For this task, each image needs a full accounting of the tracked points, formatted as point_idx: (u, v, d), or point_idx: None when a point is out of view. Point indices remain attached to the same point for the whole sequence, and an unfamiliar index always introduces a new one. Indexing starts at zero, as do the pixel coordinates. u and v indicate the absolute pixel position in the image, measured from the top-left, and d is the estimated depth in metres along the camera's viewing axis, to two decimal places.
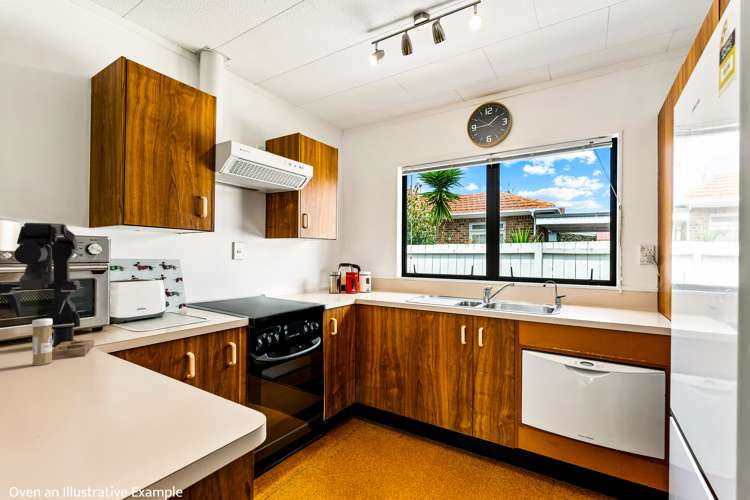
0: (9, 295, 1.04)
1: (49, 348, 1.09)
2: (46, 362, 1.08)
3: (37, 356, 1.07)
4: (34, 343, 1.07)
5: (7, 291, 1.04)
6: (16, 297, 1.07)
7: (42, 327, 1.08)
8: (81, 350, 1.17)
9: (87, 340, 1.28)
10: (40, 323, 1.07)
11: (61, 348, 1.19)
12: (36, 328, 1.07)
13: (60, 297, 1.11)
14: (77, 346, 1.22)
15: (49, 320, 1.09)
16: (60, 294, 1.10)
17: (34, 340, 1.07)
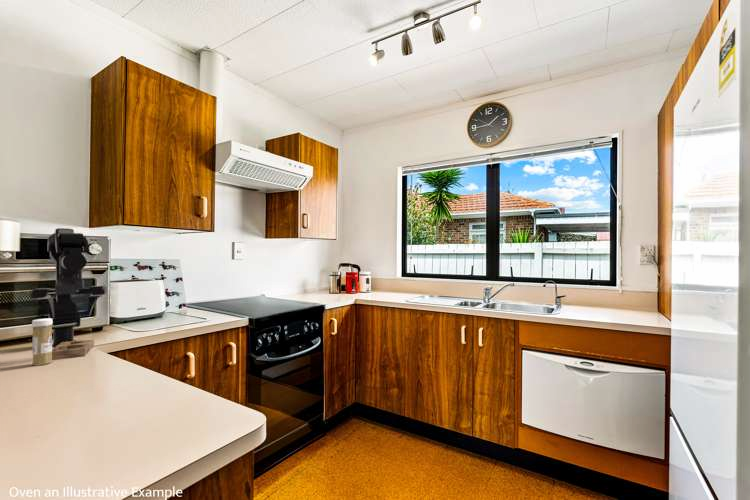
0: (44, 299, 1.14)
1: (49, 348, 1.09)
2: (46, 362, 1.08)
3: (37, 356, 1.07)
4: (34, 343, 1.07)
5: (43, 296, 1.14)
6: (50, 301, 1.17)
7: (42, 327, 1.08)
8: (81, 350, 1.17)
9: (87, 340, 1.28)
10: (40, 323, 1.07)
11: (61, 348, 1.19)
12: (36, 328, 1.07)
13: (90, 301, 1.20)
14: (77, 346, 1.22)
15: (49, 320, 1.09)
16: (90, 298, 1.20)
17: (34, 340, 1.07)
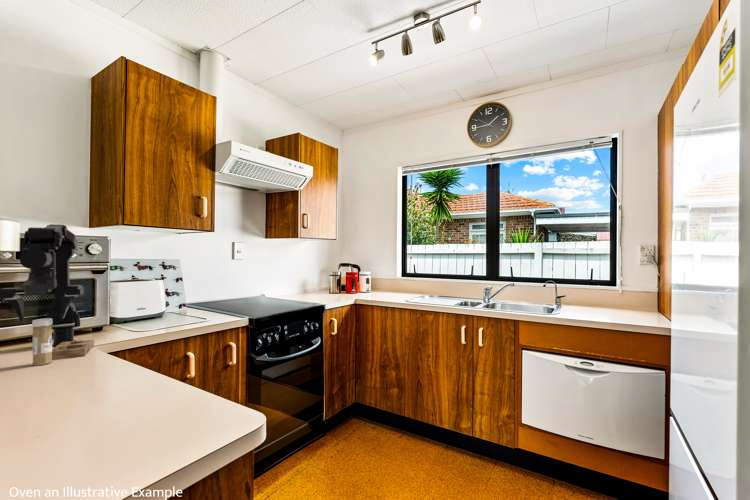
0: (13, 300, 1.04)
1: (49, 348, 1.09)
2: (46, 362, 1.08)
3: (37, 356, 1.07)
4: (34, 343, 1.07)
5: (11, 296, 1.04)
6: (20, 302, 1.07)
7: (42, 327, 1.08)
8: (81, 350, 1.17)
9: (87, 340, 1.28)
10: (40, 323, 1.07)
11: (61, 348, 1.19)
12: (36, 328, 1.07)
13: (64, 302, 1.11)
14: (77, 346, 1.22)
15: (49, 320, 1.09)
16: (64, 299, 1.10)
17: (34, 340, 1.07)
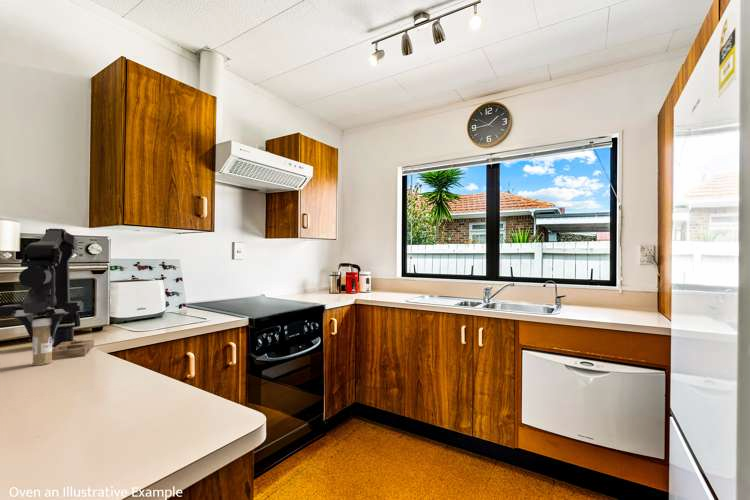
0: (23, 317, 1.05)
1: (49, 348, 1.09)
2: (46, 362, 1.08)
3: (37, 356, 1.07)
4: (34, 343, 1.07)
5: (10, 314, 1.03)
6: (30, 318, 1.08)
7: (42, 327, 1.08)
8: (81, 350, 1.17)
9: (87, 340, 1.28)
10: (40, 323, 1.07)
11: (61, 348, 1.19)
12: (36, 328, 1.07)
13: (53, 319, 1.09)
14: (77, 346, 1.22)
15: (49, 320, 1.09)
16: (53, 316, 1.09)
17: (34, 340, 1.07)
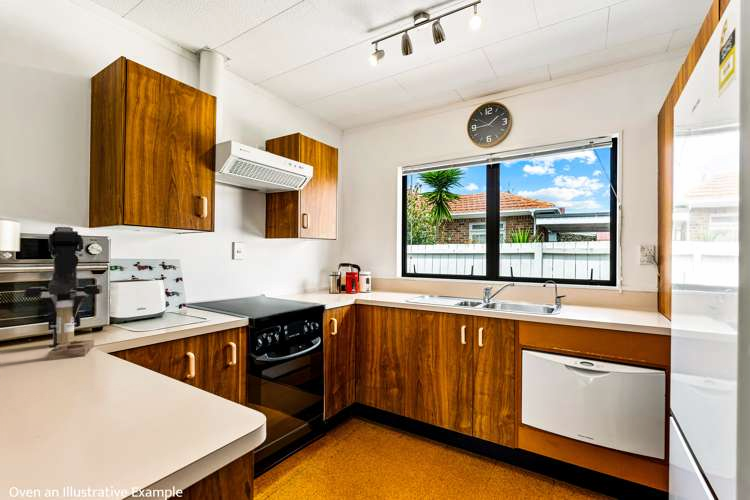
0: (48, 298, 1.13)
1: (71, 328, 1.17)
2: (69, 340, 1.16)
3: (60, 335, 1.15)
4: (58, 323, 1.15)
5: (36, 295, 1.12)
6: (54, 300, 1.16)
7: (65, 308, 1.16)
8: (81, 350, 1.17)
9: (87, 340, 1.28)
10: (63, 304, 1.15)
11: (61, 348, 1.19)
12: (60, 308, 1.15)
13: (75, 301, 1.17)
14: (77, 346, 1.22)
15: (71, 302, 1.17)
16: (75, 298, 1.17)
17: (58, 320, 1.15)
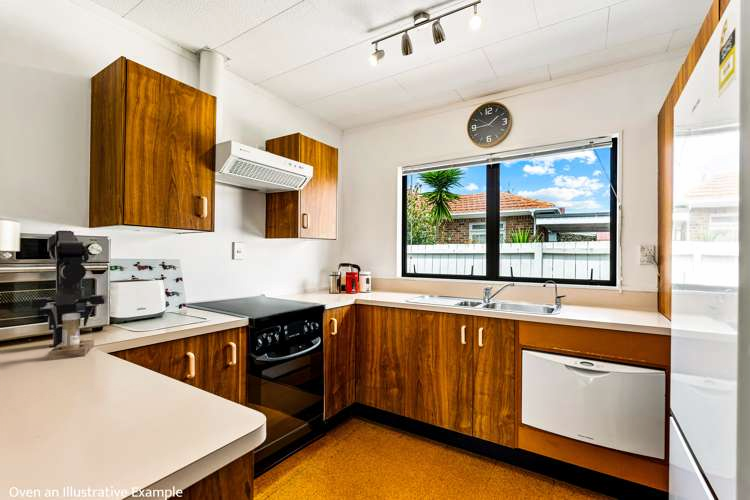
0: (48, 309, 1.14)
1: (77, 341, 1.19)
2: None
3: (66, 347, 1.17)
4: (64, 335, 1.17)
5: (42, 306, 1.13)
6: (54, 310, 1.17)
7: (71, 320, 1.18)
8: (81, 350, 1.17)
9: (87, 340, 1.28)
10: (69, 317, 1.17)
11: (61, 348, 1.19)
12: (66, 321, 1.17)
13: (86, 311, 1.20)
14: None
15: (77, 314, 1.19)
16: (86, 308, 1.19)
17: (64, 333, 1.17)
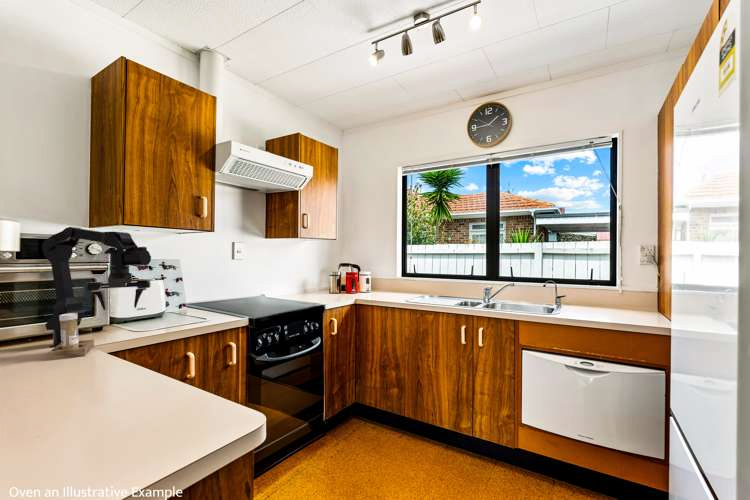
0: (98, 292, 1.27)
1: (76, 340, 1.19)
2: None
3: (65, 347, 1.17)
4: (62, 336, 1.17)
5: (97, 288, 1.26)
6: (103, 293, 1.29)
7: (69, 320, 1.17)
8: (81, 350, 1.17)
9: (87, 340, 1.28)
10: (66, 317, 1.17)
11: (61, 348, 1.19)
12: (63, 322, 1.17)
13: (136, 294, 1.33)
14: None
15: (74, 314, 1.19)
16: (136, 291, 1.32)
17: (62, 333, 1.17)
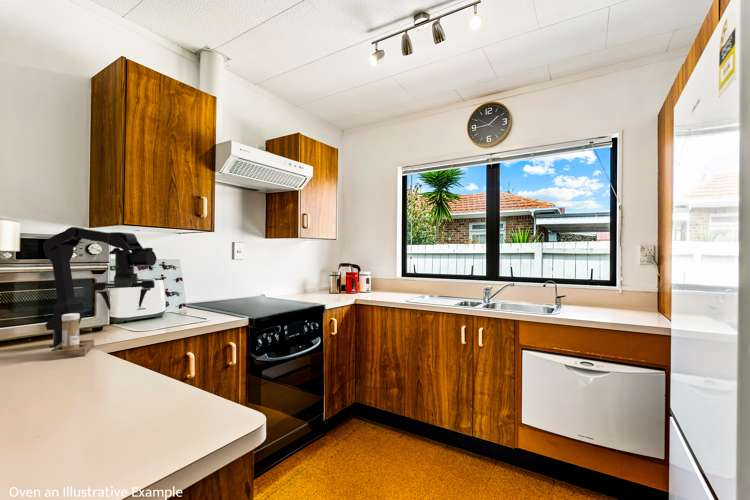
0: (104, 292, 1.28)
1: (77, 341, 1.19)
2: None
3: (66, 348, 1.17)
4: (64, 336, 1.17)
5: (102, 289, 1.28)
6: (108, 293, 1.31)
7: (71, 321, 1.18)
8: (81, 350, 1.17)
9: (87, 340, 1.28)
10: (69, 317, 1.17)
11: (61, 348, 1.19)
12: (66, 321, 1.17)
13: (141, 294, 1.35)
14: None
15: (77, 315, 1.19)
16: (141, 291, 1.34)
17: (64, 333, 1.17)
